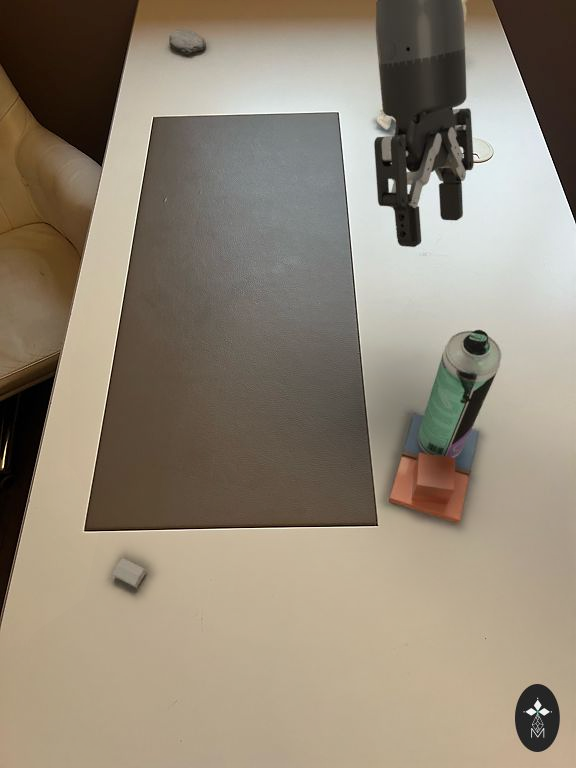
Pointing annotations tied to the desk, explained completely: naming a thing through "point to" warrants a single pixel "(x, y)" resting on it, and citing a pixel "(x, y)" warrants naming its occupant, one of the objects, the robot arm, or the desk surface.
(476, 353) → the spray can
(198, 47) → the stone
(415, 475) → the terracotta block
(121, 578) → the grey rectangular block
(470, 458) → the sorting board
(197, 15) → the desk surface
